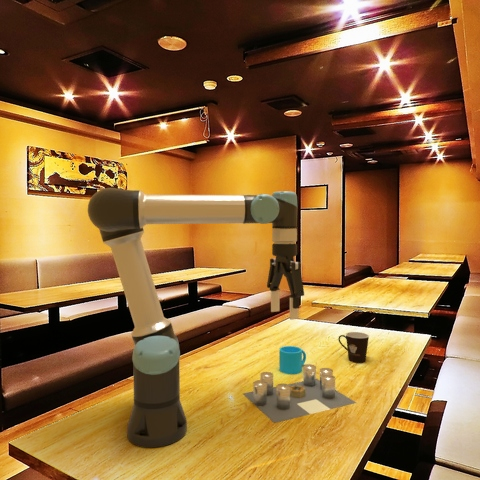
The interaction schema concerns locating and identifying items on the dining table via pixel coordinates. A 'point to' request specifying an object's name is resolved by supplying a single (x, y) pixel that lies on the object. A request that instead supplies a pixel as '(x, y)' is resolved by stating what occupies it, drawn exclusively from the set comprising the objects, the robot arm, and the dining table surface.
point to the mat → (301, 403)
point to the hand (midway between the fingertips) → (284, 315)
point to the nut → (297, 391)
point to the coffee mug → (356, 346)
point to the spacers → (265, 386)
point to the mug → (291, 359)
